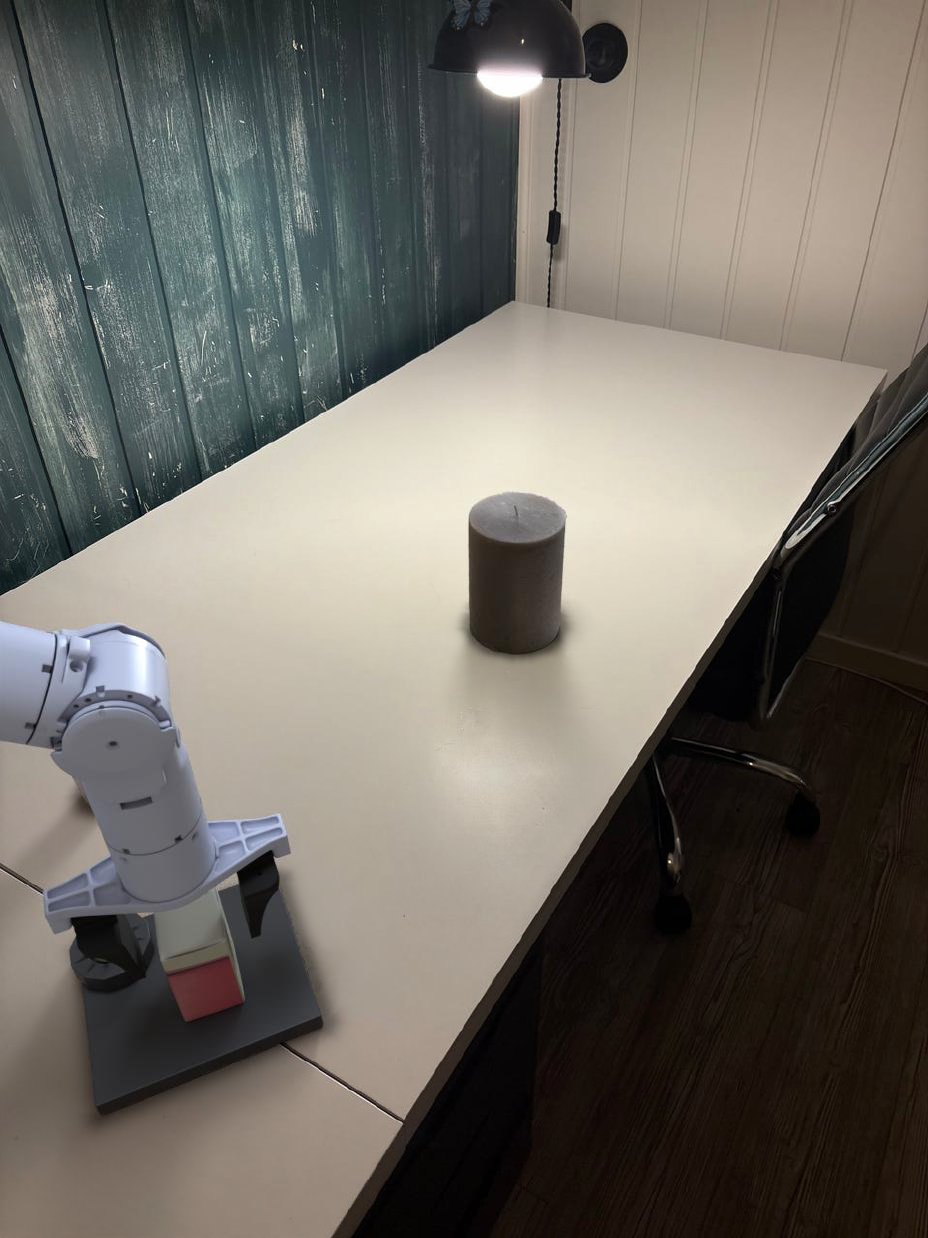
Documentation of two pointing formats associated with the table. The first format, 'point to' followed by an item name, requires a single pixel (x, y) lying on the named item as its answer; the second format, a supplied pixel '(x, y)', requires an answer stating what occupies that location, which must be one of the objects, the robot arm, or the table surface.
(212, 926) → the small box
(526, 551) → the pillar candle
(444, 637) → the table surface
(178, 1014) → the scale
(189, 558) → the table surface
